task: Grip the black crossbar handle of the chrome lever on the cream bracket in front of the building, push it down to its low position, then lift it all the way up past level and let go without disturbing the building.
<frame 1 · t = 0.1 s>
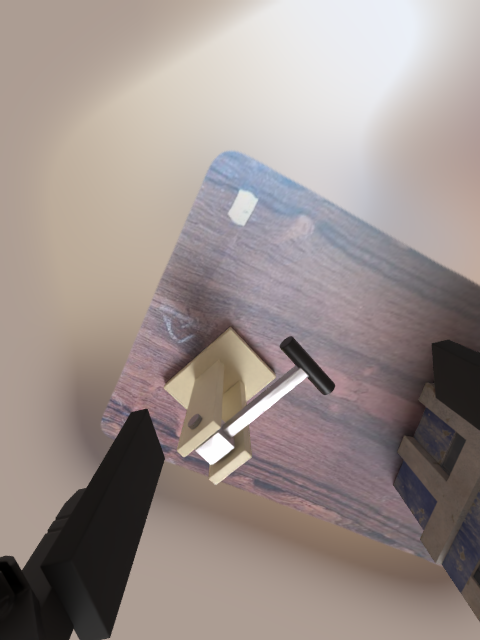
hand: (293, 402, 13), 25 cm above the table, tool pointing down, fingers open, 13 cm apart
lever: (257, 406, 26), point 13 cm above the table, hinge at 0.0°
bracket: (220, 378, 40), on the table
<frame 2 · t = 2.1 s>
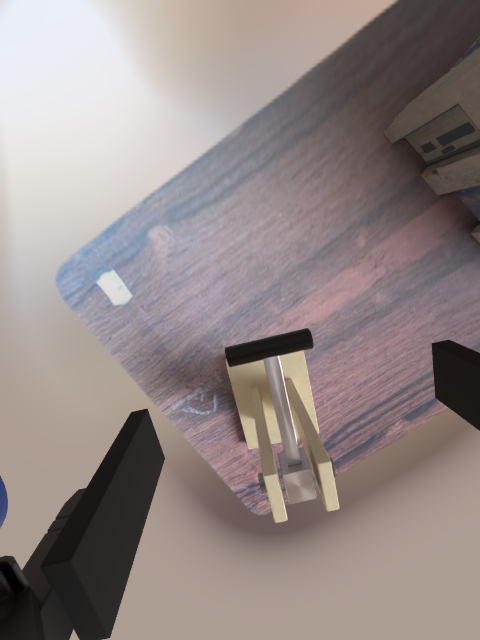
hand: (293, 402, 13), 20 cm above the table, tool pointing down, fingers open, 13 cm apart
lever: (284, 419, 22), point 13 cm above the table, hinge at 0.0°
bracket: (272, 394, 36), on the table
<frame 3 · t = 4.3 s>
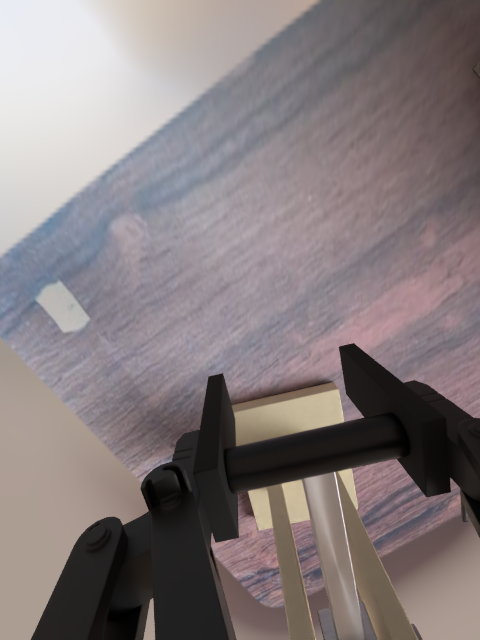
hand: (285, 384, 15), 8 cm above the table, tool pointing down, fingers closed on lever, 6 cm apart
lever: (337, 574, 12), point 13 cm above the table, hinge at 0.0°, touching gripper
bracket: (293, 454, 25), on the table
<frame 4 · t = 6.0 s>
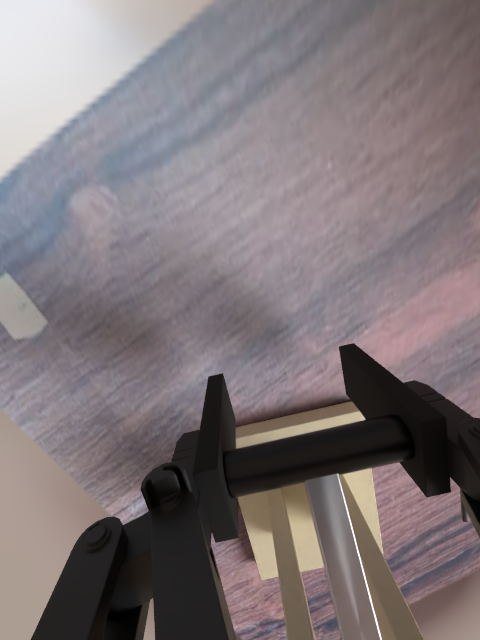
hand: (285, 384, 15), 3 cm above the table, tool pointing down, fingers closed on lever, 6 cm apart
bracket: (303, 487, 21), on the table
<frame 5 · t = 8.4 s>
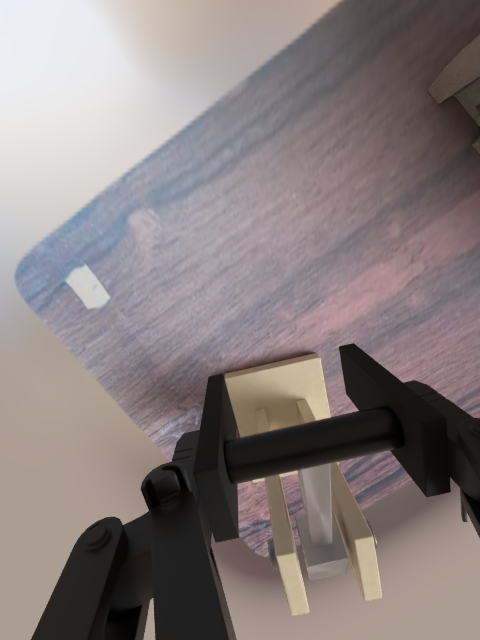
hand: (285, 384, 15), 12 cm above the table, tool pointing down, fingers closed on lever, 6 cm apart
lever: (317, 508, 14), point 15 cm above the table, hinge at 22.3°, touching gripper
bracket: (282, 416, 30), on the table
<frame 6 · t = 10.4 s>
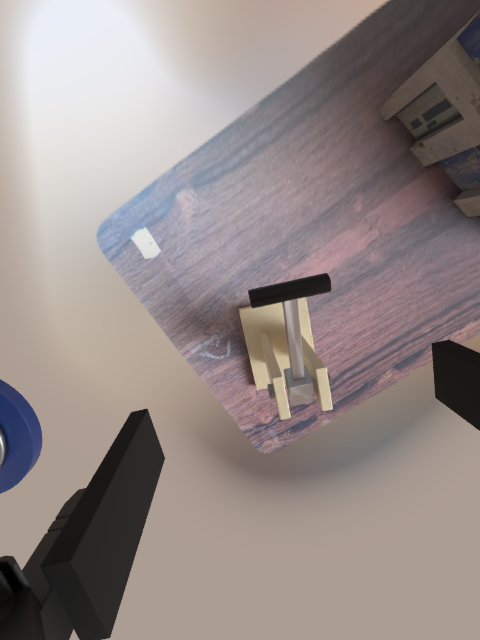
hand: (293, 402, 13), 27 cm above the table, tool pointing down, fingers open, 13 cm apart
lever: (294, 347, 25), point 15 cm above the table, hinge at 22.4°
bracket: (278, 342, 41), on the table
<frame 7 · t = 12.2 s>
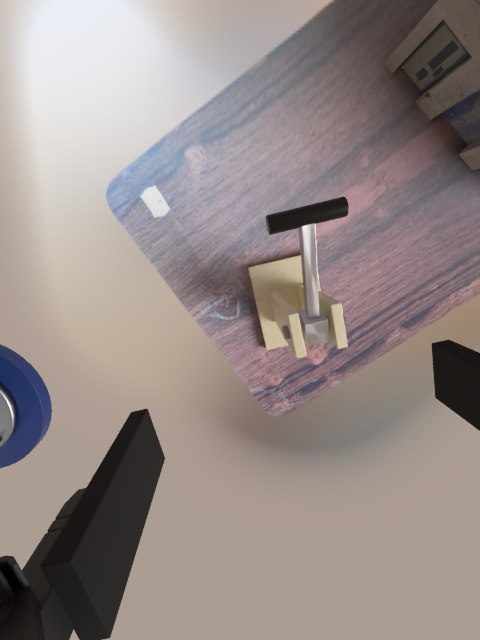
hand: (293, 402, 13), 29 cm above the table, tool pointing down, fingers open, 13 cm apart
lever: (310, 281, 26), point 15 cm above the table, hinge at 22.4°
bracket: (288, 301, 41), on the table
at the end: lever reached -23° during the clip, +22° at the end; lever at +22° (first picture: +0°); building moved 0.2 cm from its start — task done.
